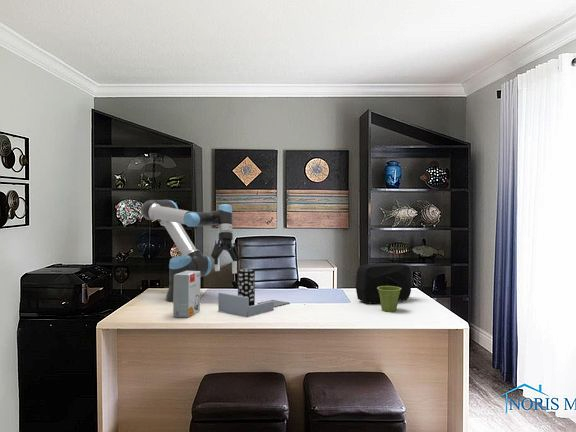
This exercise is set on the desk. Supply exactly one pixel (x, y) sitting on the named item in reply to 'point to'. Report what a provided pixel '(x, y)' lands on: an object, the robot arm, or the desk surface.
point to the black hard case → (382, 280)
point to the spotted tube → (247, 284)
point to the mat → (276, 303)
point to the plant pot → (389, 297)
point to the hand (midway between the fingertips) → (226, 272)
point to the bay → (242, 305)
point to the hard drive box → (186, 294)
